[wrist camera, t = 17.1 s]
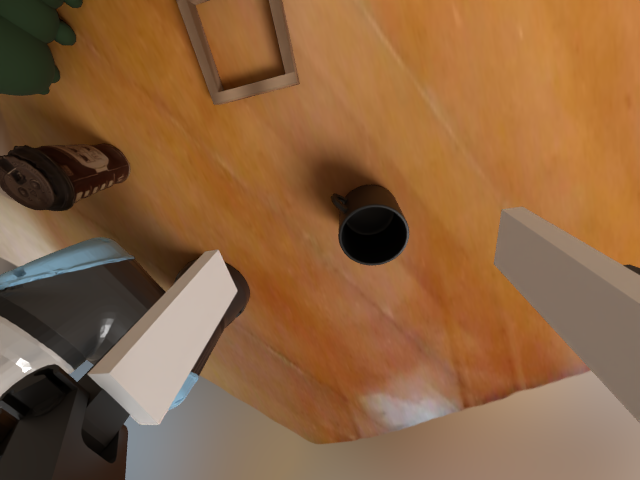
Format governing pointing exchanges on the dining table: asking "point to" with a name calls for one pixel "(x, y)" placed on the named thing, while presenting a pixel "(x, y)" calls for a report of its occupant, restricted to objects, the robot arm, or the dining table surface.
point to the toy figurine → (31, 44)
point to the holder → (207, 64)
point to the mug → (371, 225)
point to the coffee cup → (60, 174)
